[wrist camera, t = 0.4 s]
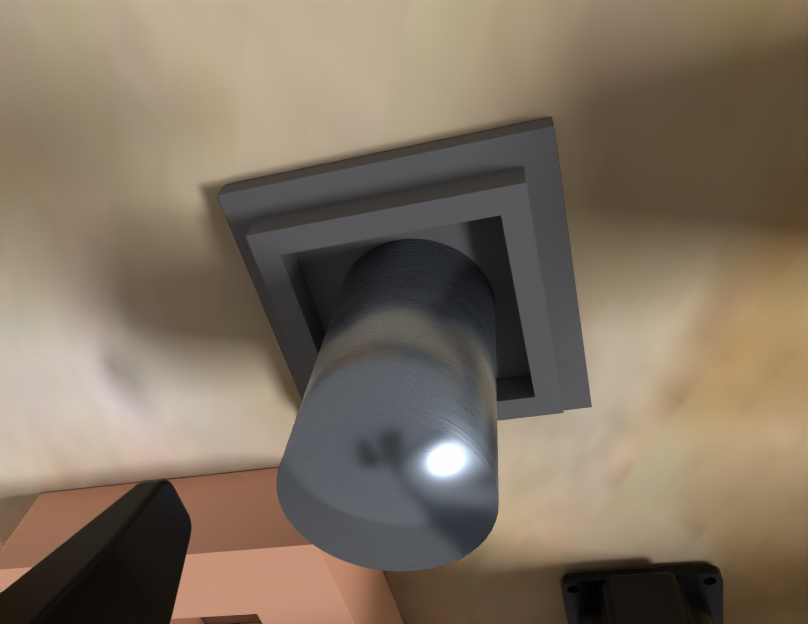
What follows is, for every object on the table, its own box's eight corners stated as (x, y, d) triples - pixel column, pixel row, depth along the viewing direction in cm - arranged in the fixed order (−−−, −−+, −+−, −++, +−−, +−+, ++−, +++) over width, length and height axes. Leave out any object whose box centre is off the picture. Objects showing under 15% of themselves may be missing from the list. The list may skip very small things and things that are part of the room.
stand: (588, 392, 24) (596, 431, 22) (322, 424, 26) (311, 462, 25) (551, 116, 19) (557, 141, 17) (225, 184, 21) (202, 212, 19)
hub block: (418, 659, 34) (411, 744, 31) (171, 669, 37) (140, 747, 34) (337, 461, 27) (317, 544, 24) (40, 493, 30) (-15, 570, 27)
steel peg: (507, 359, 23) (515, 564, 16) (363, 378, 24) (315, 577, 17) (479, 225, 20) (474, 403, 13) (320, 253, 21) (243, 431, 15)
